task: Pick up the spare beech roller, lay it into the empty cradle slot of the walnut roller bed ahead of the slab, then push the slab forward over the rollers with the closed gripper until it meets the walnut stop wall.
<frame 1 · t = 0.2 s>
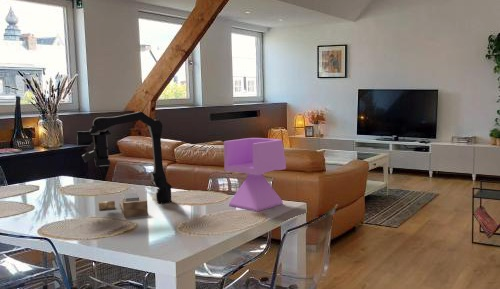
hand: (103, 178, 229), 14 cm above the table, fingers open, 9 cm apart
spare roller: (106, 205, 228), point 2 cm above the table, tilted 5°
slab: (131, 199, 230), point 3 cm above the table, touching roller bed
chair: (255, 205, 229), on the table
roller bed: (132, 209, 225), on the table
stop wall: (135, 215, 215), on the table
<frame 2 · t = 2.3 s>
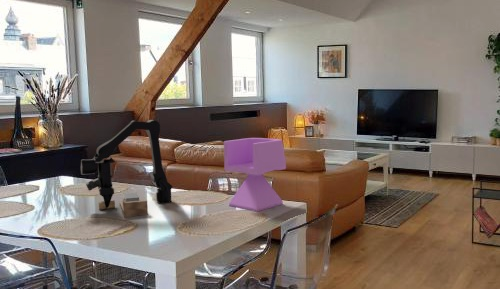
hand: (106, 206, 228), 1 cm above the table, fingers closed on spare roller, 3 cm apart
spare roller: (106, 204, 228), point 2 cm above the table, touching gripper
everything else where it was.
when the fingers open (4 cm above the table, at t = 5.7 s): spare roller drops 3 cm, point 2 cm above the table.
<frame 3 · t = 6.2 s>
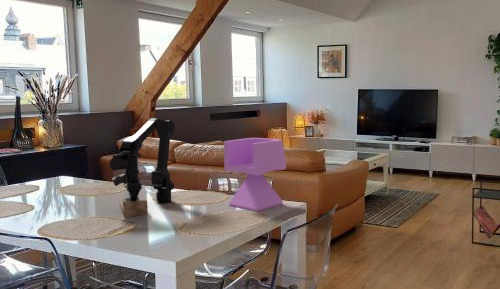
hand: (132, 202, 221), 4 cm above the table, fingers open, 5 cm apart
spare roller: (133, 208, 221), point 2 cm above the table, tilted 18°
slab: (131, 199, 230), point 3 cm above the table, touching gripper, roller bed
everything else where it was.
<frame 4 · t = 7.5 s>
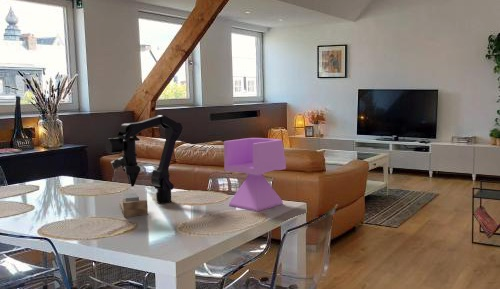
hand: (131, 185, 226), 11 cm above the table, fingers open, 6 cm apart
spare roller: (133, 207, 222), point 2 cm above the table, tilted 10°
slab: (130, 199, 230), point 3 cm above the table, touching roller bed
everything else where it was.
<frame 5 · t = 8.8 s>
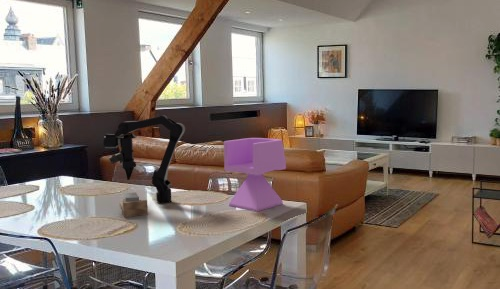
hand: (128, 179, 240), 11 cm above the table, fingers closed
nothing on the table moved.
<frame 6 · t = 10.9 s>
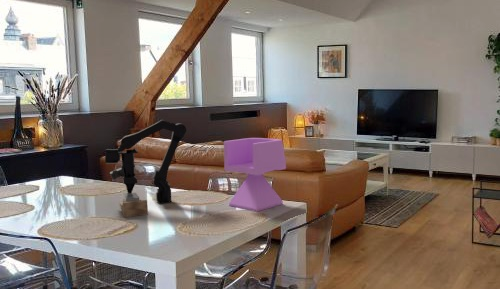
hand: (129, 195, 236), 4 cm above the table, fingers closed
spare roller: (133, 207, 221), point 2 cm above the table, tilted 18°
slab: (131, 199, 230), point 4 cm above the table, touching gripper, roller bed
everything else where it was.
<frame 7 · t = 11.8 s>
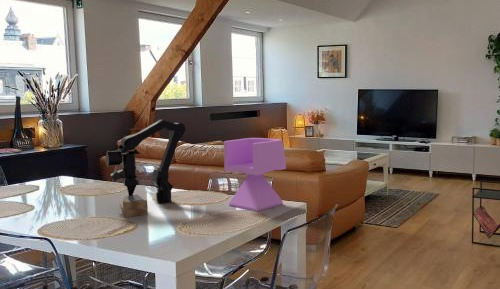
hand: (130, 197, 231), 4 cm above the table, fingers closed
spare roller: (133, 207, 222), point 2 cm above the table, tilted 11°
slab: (133, 202, 225), point 3 cm above the table, touching gripper
everything else where it was.
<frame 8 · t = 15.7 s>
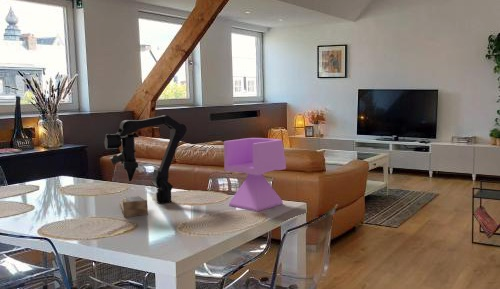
hand: (130, 181, 230), 12 cm above the table, fingers closed
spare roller: (133, 207, 222), point 2 cm above the table, tilted 17°
slab: (135, 203, 222), point 3 cm above the table, touching roller bed
everything else where it was.
at the end: slab 1.3 cm from the target spot, point 3.5 cm above the table; slab tilted 0°; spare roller inside the target area (0.2 cm from its centre), point 1.6 cm above the table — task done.
